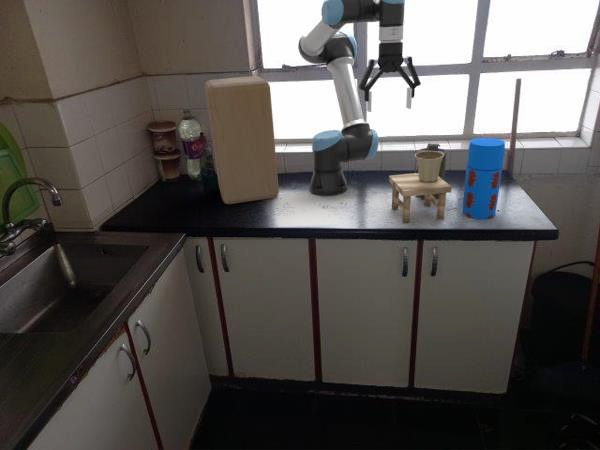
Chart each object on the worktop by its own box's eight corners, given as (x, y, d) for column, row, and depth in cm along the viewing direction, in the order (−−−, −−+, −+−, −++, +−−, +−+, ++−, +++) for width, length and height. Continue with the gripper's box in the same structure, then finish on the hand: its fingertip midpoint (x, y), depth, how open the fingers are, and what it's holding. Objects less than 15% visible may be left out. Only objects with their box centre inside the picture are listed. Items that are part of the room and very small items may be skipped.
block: (280, 198, 174) (270, 80, 155) (223, 207, 170) (206, 86, 151) (270, 181, 194) (260, 74, 175) (219, 188, 190) (203, 79, 171)
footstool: (388, 206, 161) (388, 175, 155) (430, 202, 162) (432, 171, 157) (401, 224, 146) (403, 191, 141) (448, 220, 147) (451, 186, 142)
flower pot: (440, 185, 144) (441, 159, 140) (411, 183, 148) (411, 158, 144) (444, 175, 151) (446, 151, 148) (417, 174, 155) (417, 150, 152)
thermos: (479, 222, 144) (488, 148, 134) (455, 211, 153) (461, 141, 143) (502, 214, 149) (513, 142, 138) (477, 205, 157) (485, 136, 147)
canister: (440, 190, 172) (444, 140, 164) (445, 200, 163) (450, 147, 155) (412, 191, 174) (414, 141, 165) (415, 200, 164) (418, 148, 156)
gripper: (354, 44, 134) (355, 114, 143) (433, 39, 136) (429, 108, 145) (349, 43, 141) (350, 110, 150) (424, 38, 143) (420, 104, 152)
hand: (389, 109), depth 148 cm, fingers open, 13 cm apart
